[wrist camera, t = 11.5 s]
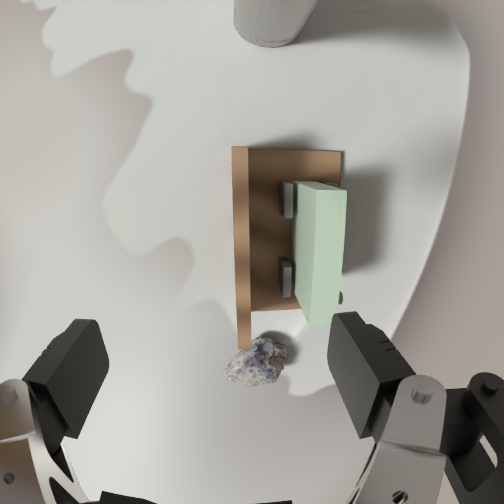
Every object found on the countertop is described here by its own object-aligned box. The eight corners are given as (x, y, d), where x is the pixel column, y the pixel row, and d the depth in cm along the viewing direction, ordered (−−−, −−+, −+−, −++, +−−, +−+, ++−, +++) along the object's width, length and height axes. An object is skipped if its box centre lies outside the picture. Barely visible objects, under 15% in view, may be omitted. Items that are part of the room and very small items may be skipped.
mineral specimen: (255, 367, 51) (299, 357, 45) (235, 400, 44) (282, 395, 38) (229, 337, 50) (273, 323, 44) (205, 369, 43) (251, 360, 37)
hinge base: (231, 150, 36) (231, 146, 26) (338, 152, 37) (370, 151, 27) (236, 308, 42) (238, 349, 33) (329, 303, 43) (353, 339, 34)
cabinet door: (292, 181, 36) (316, 189, 26) (322, 181, 37) (356, 190, 26) (290, 284, 41) (309, 325, 30) (318, 282, 41) (344, 322, 30)
